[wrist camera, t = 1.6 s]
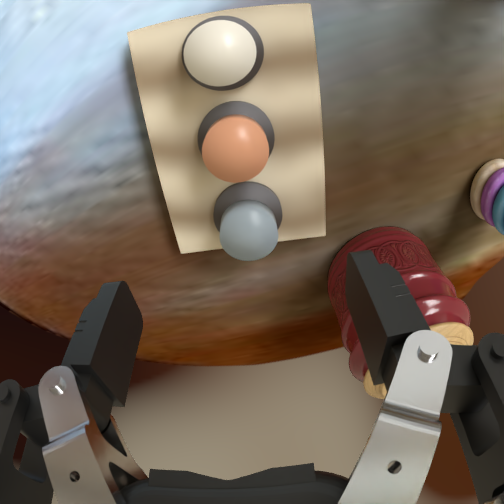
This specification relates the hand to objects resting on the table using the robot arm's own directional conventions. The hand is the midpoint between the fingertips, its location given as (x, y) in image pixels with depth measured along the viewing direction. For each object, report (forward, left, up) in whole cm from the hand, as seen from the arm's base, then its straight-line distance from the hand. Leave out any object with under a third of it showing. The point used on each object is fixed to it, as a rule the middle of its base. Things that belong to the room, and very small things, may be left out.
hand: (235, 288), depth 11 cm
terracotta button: (0, 0, -16) cm, 16 cm away
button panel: (0, 0, -20) cm, 20 cm away
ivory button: (-7, 0, -16) cm, 17 cm away
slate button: (+7, 0, -16) cm, 17 cm away
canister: (+18, +14, -20) cm, 30 cm away
